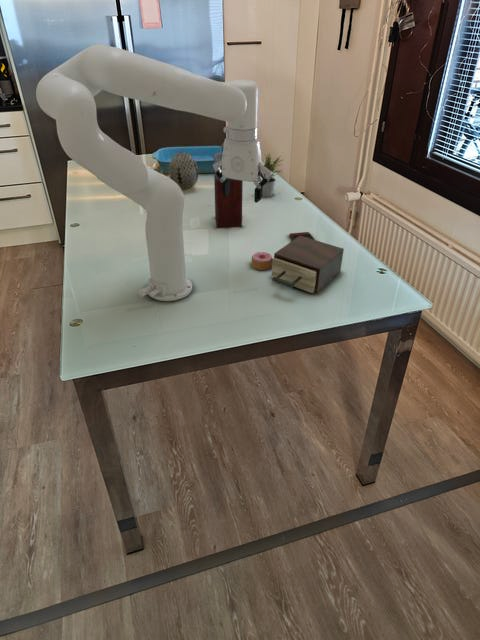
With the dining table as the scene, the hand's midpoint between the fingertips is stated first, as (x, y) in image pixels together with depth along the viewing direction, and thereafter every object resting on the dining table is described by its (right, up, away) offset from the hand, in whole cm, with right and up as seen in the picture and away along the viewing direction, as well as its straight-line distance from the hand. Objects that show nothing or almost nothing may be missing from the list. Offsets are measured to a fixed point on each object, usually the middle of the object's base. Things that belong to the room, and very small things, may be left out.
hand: (241, 198), depth 129 cm
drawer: (+16, -23, +3) cm, 28 cm away
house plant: (+11, +16, +59) cm, 62 cm away
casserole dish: (-22, +36, +86) cm, 96 cm away
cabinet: (+19, -21, +7) cm, 29 cm away
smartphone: (+21, -9, +23) cm, 33 cm away
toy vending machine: (-5, +2, +38) cm, 38 cm away
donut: (+6, -17, +12) cm, 22 cm away
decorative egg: (-24, +20, +64) cm, 71 cm away
